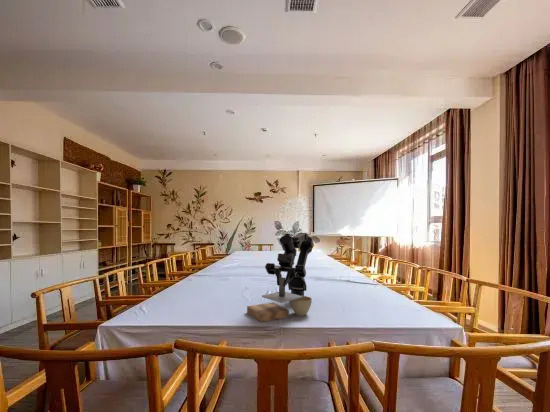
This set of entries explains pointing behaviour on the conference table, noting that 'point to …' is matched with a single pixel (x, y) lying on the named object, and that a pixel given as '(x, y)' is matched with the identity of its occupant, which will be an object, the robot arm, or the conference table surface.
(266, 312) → the stand
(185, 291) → the conference table surface
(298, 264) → the robot arm
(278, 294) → the cover
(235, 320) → the conference table surface
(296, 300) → the flower pot
